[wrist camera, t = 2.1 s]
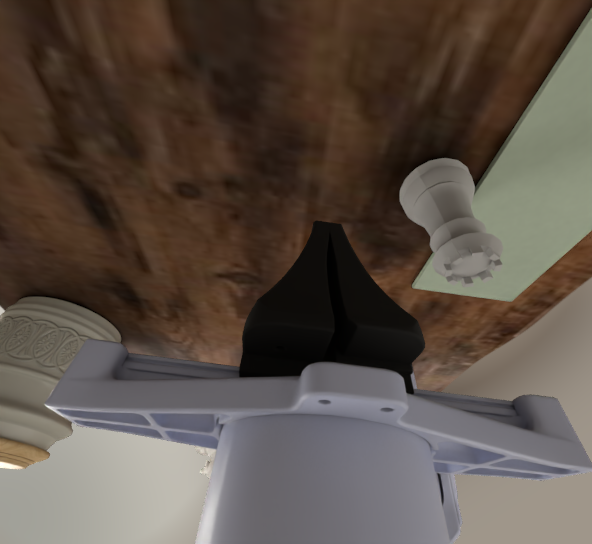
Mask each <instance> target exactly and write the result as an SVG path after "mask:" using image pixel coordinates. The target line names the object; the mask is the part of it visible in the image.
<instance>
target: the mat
mask: <svg viewBox="0 0 592 544" xmlns="http://www.w3.org/2000/svg"><path fill="white" fill-rule="evenodd" d="M471 208H472V212H473V215H474V217H475V218H476V219H478V220H479V221H481V222H482V223H484V225H485V228H486V233H488V234H493V235H494V236H496V237H497V238H498V239H500V240H501V242H502V246H503V251H502V254H501V257H500V261H501V262H502V264H503V265H502V268H501V270H500V271H493V269H492V270H491V271H490V273H491V274H492V276H493V279H491V280H489V281H487V282H485V283H483V281H482V280H481V278H480V277H478V278H475V279H472V281H473V285H474V286H473V287H463V286H462V284H461V281H458V280H457V281H458V283H457V284H456V285H455V286H453V285H452V284H450V283H448V282H447V279H446V277H443V276H442V275H440V274H438V273H436V271H435V270H434V268H433V266H432V262H433V256H434V255H435V253H434V252H433V253H432V255H431V256H430V258H429V259H428V261H427V262H426V264H425V266H424V267H423V269H422V270H421V272H420V273H419V275H418V276H417V278H416V279H415V281H414V283H413V284H412V288H415V289H423V290H430V291H437V292H444V293H452V294H459V295H466V296H473V297H481V298H488V299H495V300H502V301H510V302H511V301H513V300H514V299H515V298H516V297H517V296H518V295H519V294H520V293H522V292H523V291H524V290H525V289H526V288H527V287H528V286H529V285H531V284H532V283H533V282H534V281H535V280H536V279H537V278H538V277H540V276H541V275H542V274H543V273H544V272H545V271H546V270H547V269H549V268H550V267H551V266H552V265H553V264H554V263H555V262H556V261H558V260H559V259H560V258H561V257H562V256H563V255H564V254H565V253H567V252H568V251H569V250H570V249H571V248H572V247H573V246H574V245H576V244H577V243H578V242H579V241H580V240H581V239H582V238H583V237H585V236H586V235H587V234H588V233H589V232H590V231H591V230H592V8H591V10H590V11H589V13H588V14H587V16H586V17H585V19H584V21H583V22H582V24H581V25H580V27H579V28H578V30H577V31H576V33H575V34H574V36H573V38H572V39H571V41H570V42H569V44H568V45H567V47H566V48H565V50H564V51H563V53H562V54H561V56H560V58H559V59H558V61H557V62H556V64H555V65H554V67H553V68H552V70H551V71H550V73H549V74H548V76H547V78H546V79H545V81H544V82H543V84H542V85H541V87H540V88H539V90H538V91H537V93H536V95H535V96H534V98H533V99H532V101H531V102H530V104H529V105H528V107H527V108H526V110H525V111H524V113H523V115H522V116H521V118H520V119H519V121H518V122H517V124H516V125H515V127H514V128H513V130H512V132H511V133H510V135H509V136H508V138H507V139H506V141H505V142H504V144H503V145H502V147H501V148H500V150H499V152H498V153H497V155H496V156H495V158H494V159H493V161H492V162H491V164H490V165H489V167H488V168H487V170H486V172H485V173H484V175H483V176H482V178H481V179H480V181H479V182H478V184H477V185H476V187H475V192H474V196H473V201H472V205H471Z"/></svg>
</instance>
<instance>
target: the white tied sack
mask: <svg viewBox="0 0 592 544" xmlns="http://www.w3.org/2000/svg"><path fill="white" fill-rule="evenodd" d="M195 449H196V451H197V452H198V453H200V454H201V455H205V456H209V457H210V462H209V461H206V466H205V468H203V469H201V471H200V474H205V475H208V478H209V479H210V476H211V472H212V468H213V464H214V459H215V455H216V451H217V450H215V449H210V448H205V447H199V446H195Z"/></svg>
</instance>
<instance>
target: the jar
mask: <svg viewBox="0 0 592 544" xmlns="http://www.w3.org/2000/svg"><path fill="white" fill-rule="evenodd" d="M87 339H98V340H105V341H113V342H118V343H120V342H121V336H120V333H119V332H118V330H117V329H116V328H115V327H114V326H113V325H112V324H111V323H110V322H108V321H107V320H106V319H104V318H103V317H101V316H100V315H98V314H96V313H94V312H92V311H90V310H88V309H86V308H84V307H81V306H79V305H76V304H73V303H70V302H67V301H63V300H59V299H55V298H49V297H26V298H22V299H20V300H19V301H17V302H16V303H15V304H14V305H12V306H10V307H9V308H7V309H6V311H5V312H4V313H3V314H1V315H0V468H8V469H24V468H26V467H27V466H29V465H31V464H34V463H36V462H39V461H43V460H46V459H48V458H49V456H50V453H49V452H47V450H48V449H49V448H50V446H52V445H53V444H54V443H55V442H56V441H59V440H62V439H65V438H67V437H69V436H70V435H71V434H72V432H73V430H72V426H71V424H72V422H71V421H69V420H67V419H66V418H64V417H62V416H61V415H59V414H58V413H56V412H54V411H53V410H51V409H49V408H48V407H46V406H45V402H46V400H47V399H48V397H49V396H50V394H51V393H52V391H53V390H54V388H55V387H56V385H57V384H58V382H59V381H60V379H61V378H62V376H63V374H64V373H65V371H66V370H67V368H68V367H69V365H70V364H71V362H72V361H73V359H74V358H75V356H76V355H77V353H78V352H79V350H80V349H81V347H82V346H83V344H84V343H85V341H86V340H87Z"/></svg>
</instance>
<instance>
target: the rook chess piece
mask: <svg viewBox="0 0 592 544" xmlns="http://www.w3.org/2000/svg"><path fill="white" fill-rule="evenodd" d="M474 192H475V185H474V182H473V179H472V176H471V175H470V173H469V170H468V168H467V167H466V166H465V165H464V164H462V163H461V162H460V161H459V160H454V159H449V158H441V159H436V160H431V161H428V162H426V163H424V164H423V165H421V166H419V167H417V168H415V169H414V170H413V171H412V172H411V173H410V174H409V175H408V177H407V178H406V179H405V180H404V183H403V185H402V187H401V189H400V203H401V205H402V207H403V209H404V211H405V213H406V215H407V216H408V218H409V219H411V220H412V221H414V222H415V223H417V224H419V225H421V226H423V227H425V229H426V230H427V232H428V233H429V235H430V236H431V239H430V247H431V249H432V251H433V252H434V253H435V255H434V256H433V262H432V266H433V268H434V270H435V271H436V273H438V274H440V275H442V276H443V277H446V279H447V282H448V283H450V284H452V285H453V286H455V285H456V284H457V283H458V281H461V284H462V286H463V287H473V286H474V285H473V281H472V279H475V278H478V277H480V278H481V280H482V281H483V283H485V282H487V281H489V280H491V279H493V276H492V274H491V273H490V271H491V270H492V269H493V271H500V270H501V268H502V265H503V264H502V262H501V261H500V257H501V254H502V251H503V246H502V242H501V240H500V239H498V238H497V237H496V236H494V235H493V234H488V233H486V228H485V225H484V223H482V222H481V221H479V220H478V219H476V218H475V217H474V215H473V212H472V208H471V205H472V201H473V196H474ZM457 280H458V281H457Z"/></svg>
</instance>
